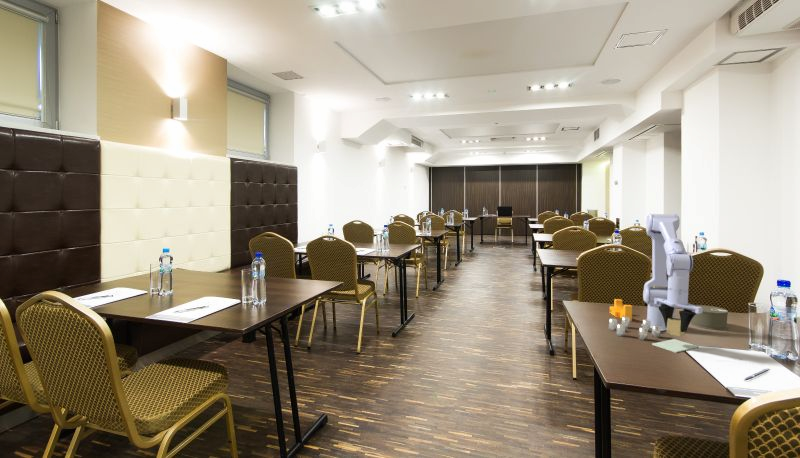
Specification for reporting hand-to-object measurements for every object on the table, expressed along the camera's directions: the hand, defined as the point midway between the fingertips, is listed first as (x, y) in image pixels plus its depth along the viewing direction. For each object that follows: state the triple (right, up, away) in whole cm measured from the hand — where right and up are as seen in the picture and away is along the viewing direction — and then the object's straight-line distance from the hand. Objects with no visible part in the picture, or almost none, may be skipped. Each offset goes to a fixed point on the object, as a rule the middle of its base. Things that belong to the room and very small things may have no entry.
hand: (675, 329), depth 136 cm
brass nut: (0, -1, 0) cm, 1 cm away
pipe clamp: (0, -4, +35) cm, 36 cm away
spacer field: (-6, -5, +14) cm, 16 cm away
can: (+29, -5, +24) cm, 38 cm away
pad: (0, -6, 0) cm, 6 cm away
